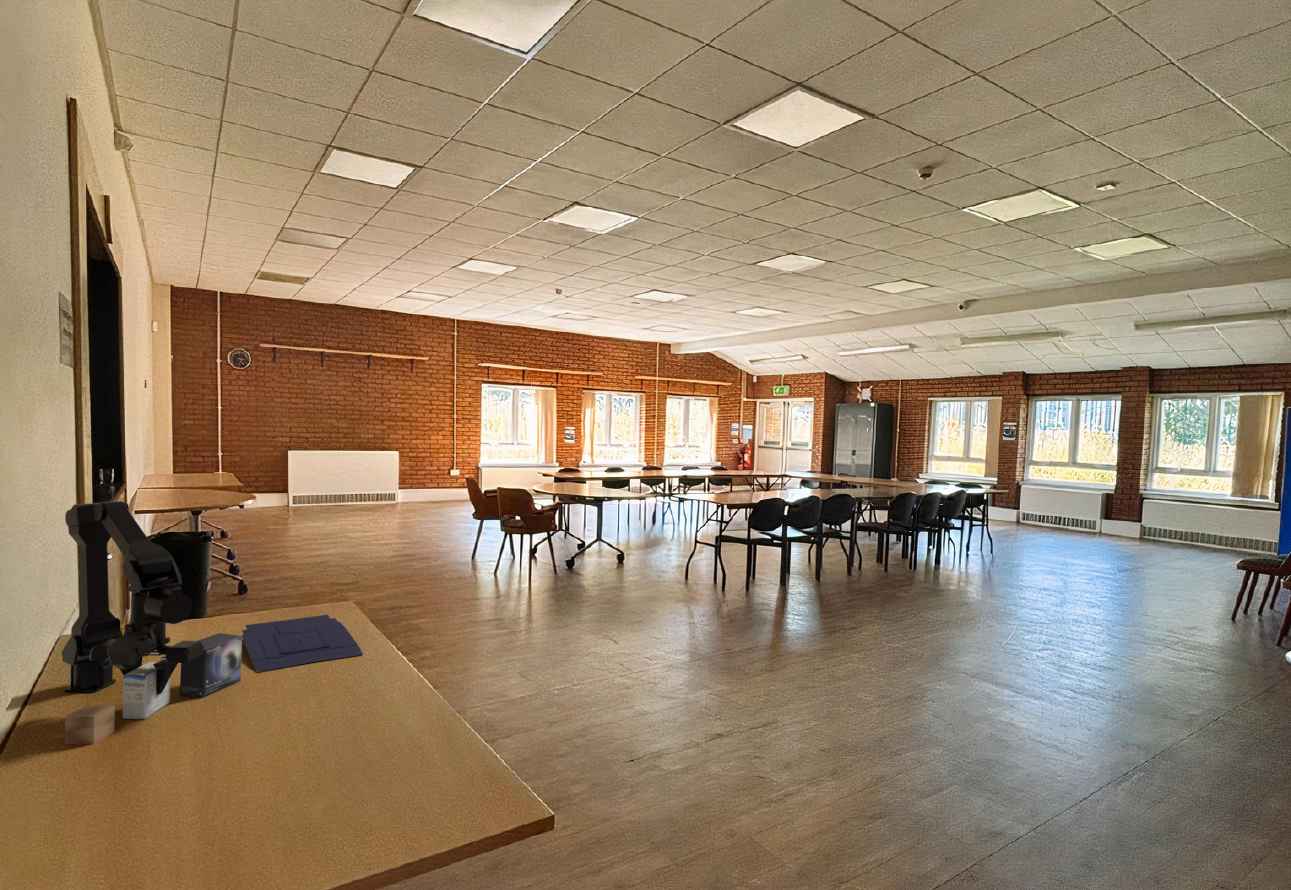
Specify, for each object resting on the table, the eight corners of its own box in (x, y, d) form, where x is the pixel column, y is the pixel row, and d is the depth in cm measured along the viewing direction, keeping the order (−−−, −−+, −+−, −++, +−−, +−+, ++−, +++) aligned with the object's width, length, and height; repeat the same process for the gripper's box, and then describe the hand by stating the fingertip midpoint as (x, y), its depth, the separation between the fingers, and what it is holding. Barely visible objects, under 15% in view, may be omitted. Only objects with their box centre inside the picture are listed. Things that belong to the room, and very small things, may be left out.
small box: (204, 698, 145) (205, 648, 145) (177, 695, 146) (178, 646, 146) (242, 681, 155) (243, 634, 155) (218, 678, 157) (219, 632, 157)
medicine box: (147, 703, 141) (148, 661, 141) (170, 703, 142) (171, 661, 142) (121, 719, 134) (122, 674, 133) (146, 719, 134) (146, 674, 134)
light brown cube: (64, 744, 123) (65, 716, 123) (86, 732, 128) (87, 705, 128) (93, 744, 123) (94, 716, 123) (114, 732, 128) (114, 705, 128)
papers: (334, 622, 199) (334, 610, 199) (363, 664, 176) (364, 651, 175) (236, 636, 184) (237, 622, 184) (255, 683, 161) (255, 668, 160)
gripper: (67, 625, 129) (66, 708, 129) (170, 628, 130) (168, 710, 130) (112, 610, 140) (110, 687, 140) (205, 612, 141) (204, 688, 141)
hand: (147, 693), depth 138 cm, fingers closed on medicine box, 4 cm apart
